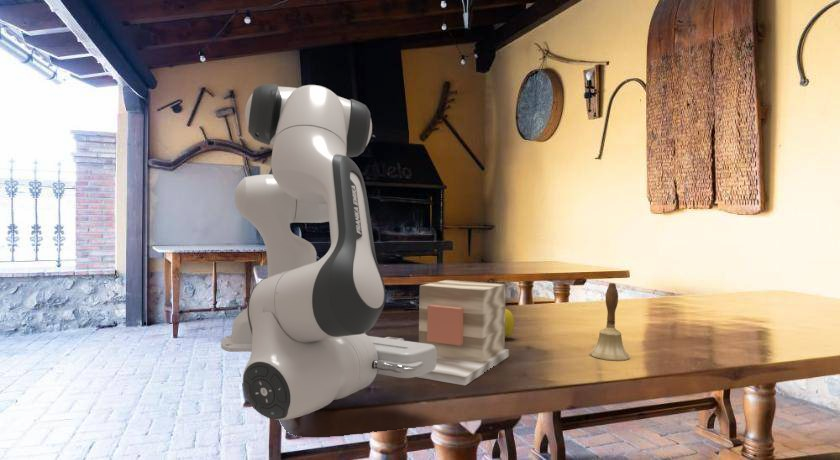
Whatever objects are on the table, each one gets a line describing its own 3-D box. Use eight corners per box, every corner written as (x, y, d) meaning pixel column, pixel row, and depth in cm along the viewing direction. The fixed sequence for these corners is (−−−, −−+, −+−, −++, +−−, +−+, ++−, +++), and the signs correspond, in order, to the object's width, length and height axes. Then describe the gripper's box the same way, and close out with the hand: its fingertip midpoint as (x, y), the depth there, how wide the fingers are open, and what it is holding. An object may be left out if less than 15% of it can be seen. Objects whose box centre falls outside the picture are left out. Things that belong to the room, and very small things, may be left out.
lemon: (513, 342, 126) (514, 309, 126) (490, 340, 127) (491, 308, 127) (514, 337, 132) (515, 305, 132) (492, 336, 133) (492, 304, 133)
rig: (465, 385, 92) (466, 297, 92) (387, 372, 99) (388, 290, 99) (508, 356, 113) (510, 284, 112) (441, 347, 120) (442, 279, 120)
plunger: (459, 345, 100) (460, 309, 100) (427, 341, 104) (427, 305, 104) (481, 334, 111) (482, 301, 111) (451, 330, 114) (452, 298, 114)
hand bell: (629, 353, 117) (630, 282, 117) (631, 362, 109) (632, 286, 109) (590, 350, 120) (591, 280, 120) (589, 358, 112) (590, 284, 112)
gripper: (410, 347, 69) (454, 330, 81) (291, 331, 79) (346, 317, 91) (410, 395, 69) (454, 370, 81) (291, 373, 79) (346, 353, 91)
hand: (396, 342), depth 86 cm, fingers closed
